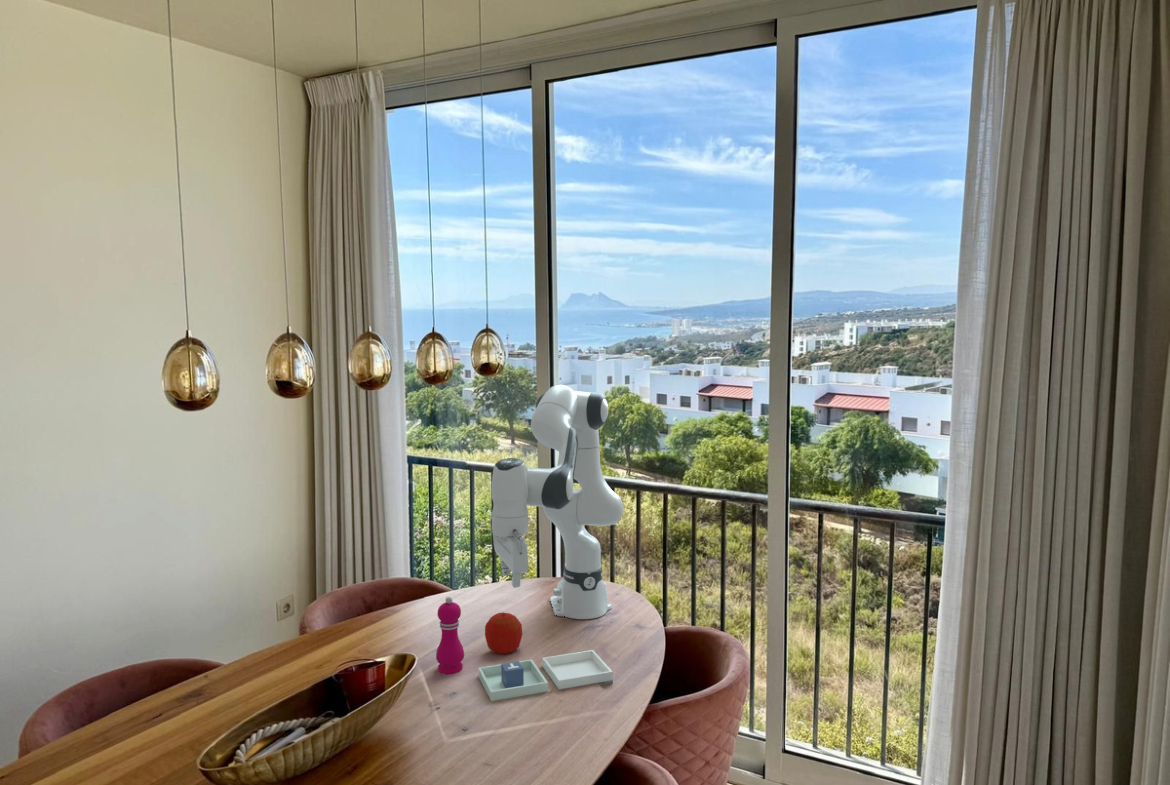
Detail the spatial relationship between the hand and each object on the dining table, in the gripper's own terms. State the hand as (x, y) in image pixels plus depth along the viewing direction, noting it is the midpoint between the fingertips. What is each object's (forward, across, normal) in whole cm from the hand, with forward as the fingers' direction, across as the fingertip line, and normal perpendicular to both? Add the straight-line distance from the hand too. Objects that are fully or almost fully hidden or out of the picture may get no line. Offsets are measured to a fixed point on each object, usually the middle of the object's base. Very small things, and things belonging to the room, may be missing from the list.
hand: (511, 580), depth 192 cm
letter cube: (+26, 0, 0) cm, 26 cm away
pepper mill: (+27, +14, +13) cm, 33 cm away
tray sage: (+27, 0, 0) cm, 27 cm away
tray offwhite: (+27, 0, -17) cm, 32 cm away
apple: (+27, +21, -3) cm, 35 cm away
